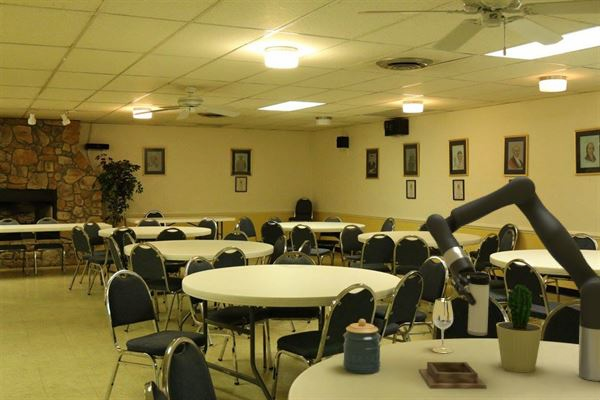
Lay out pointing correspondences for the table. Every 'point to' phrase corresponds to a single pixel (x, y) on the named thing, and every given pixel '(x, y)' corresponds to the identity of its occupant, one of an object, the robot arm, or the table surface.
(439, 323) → the wineglass
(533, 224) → the robot arm
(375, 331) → the canister
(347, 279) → the table surface
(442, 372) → the square wooden tray
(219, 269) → the table surface
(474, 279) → the travel mug
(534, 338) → the potted cactus
